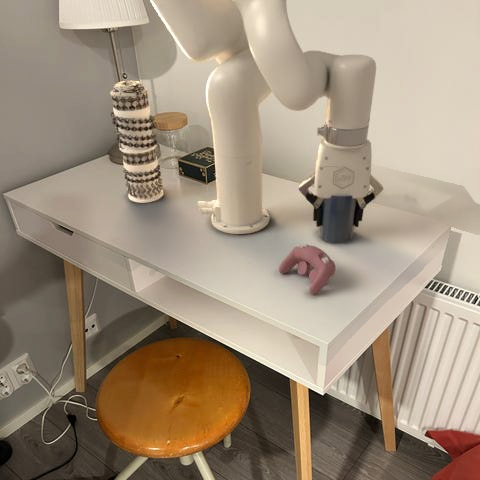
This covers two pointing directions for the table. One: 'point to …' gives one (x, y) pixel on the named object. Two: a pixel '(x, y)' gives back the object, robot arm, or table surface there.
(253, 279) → the table surface
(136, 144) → the decorative candle
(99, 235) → the table surface
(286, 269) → the video game controller
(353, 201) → the cup
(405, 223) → the table surface
